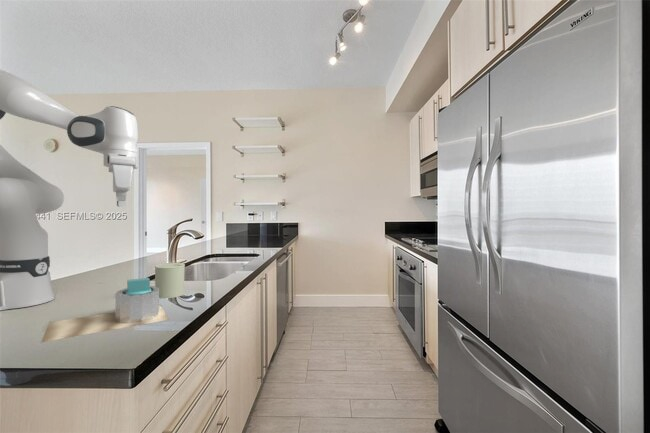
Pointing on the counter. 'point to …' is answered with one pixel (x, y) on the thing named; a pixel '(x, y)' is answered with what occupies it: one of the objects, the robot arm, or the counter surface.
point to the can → (170, 279)
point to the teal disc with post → (138, 286)
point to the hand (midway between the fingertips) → (120, 206)
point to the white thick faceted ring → (136, 306)
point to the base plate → (91, 325)
